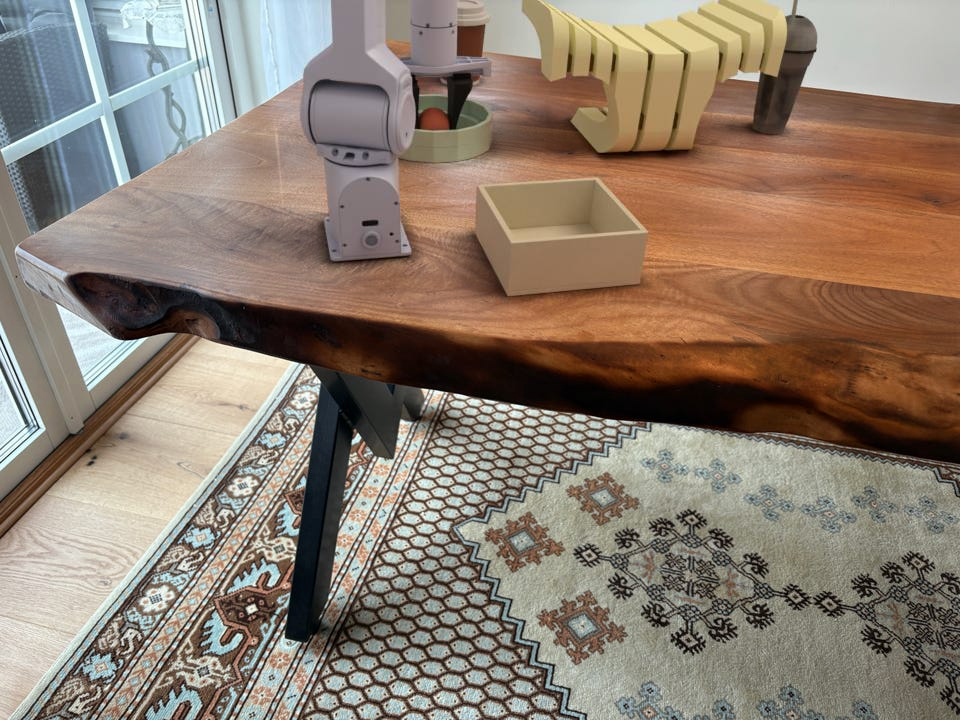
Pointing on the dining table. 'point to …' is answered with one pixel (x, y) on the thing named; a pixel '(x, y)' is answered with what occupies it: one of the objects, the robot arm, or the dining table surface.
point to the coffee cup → (470, 31)
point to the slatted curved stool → (657, 67)
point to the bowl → (452, 133)
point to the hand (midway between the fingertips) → (433, 133)
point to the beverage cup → (785, 76)
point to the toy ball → (434, 120)
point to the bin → (558, 236)
